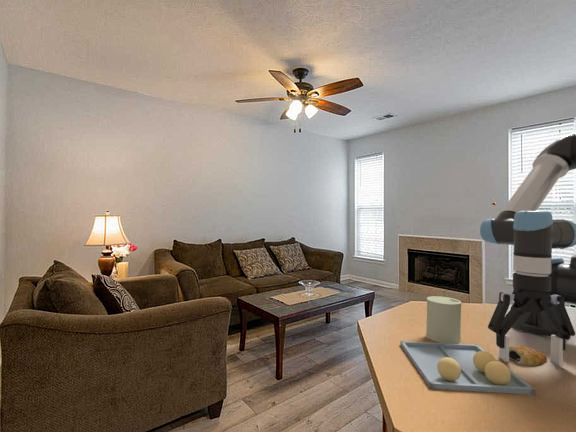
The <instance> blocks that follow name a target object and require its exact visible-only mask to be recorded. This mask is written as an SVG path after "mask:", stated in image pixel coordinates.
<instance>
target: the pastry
mask: <svg viewBox="0 0 576 432" xmlns="http://www.w3.org/2000/svg"><path fill="white" fill-rule="evenodd" d="M509 360H513V361H515V362H516V363H517V364H519V365H523V366H530V367H533V366H534V367H535V366H539V365H542V364H544V363H546V362H547V360H548V356H547V355H546V354H545V353H544V352H541V351H540V350H539V349H536V348H532V347H529V346H524V345H509Z"/></svg>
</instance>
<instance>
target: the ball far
mask: <svg viewBox="0 0 576 432" xmlns="http://www.w3.org/2000/svg"><path fill="white" fill-rule="evenodd" d="M437 370H438V373H439V374H440V376H441V377H442V378H444V379H445V380H448V381H455V380H457V379H458V378H459V377H460V375H461V368H460V365H459V364H458V362H457V361H455V360H454V359H452V358H449V357H445V358H442V359H440V360H439V362H438V364H437Z"/></svg>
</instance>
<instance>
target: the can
mask: <svg viewBox="0 0 576 432" xmlns="http://www.w3.org/2000/svg"><path fill="white" fill-rule="evenodd" d="M462 304H463V303H462V301H461V300H459V299H457V298H452V297H448V296H440V295H439V296H438V295H432V296H431V295H430V296H427V297H426V333H425V338H427V339H430V340H431V341H433V342H436V343H452V344H461V342H462V337H461V333H462V332H461V329H462V326H461V325H462V323H461V322H462V321H461V320H462V319H461V318H462Z"/></svg>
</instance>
